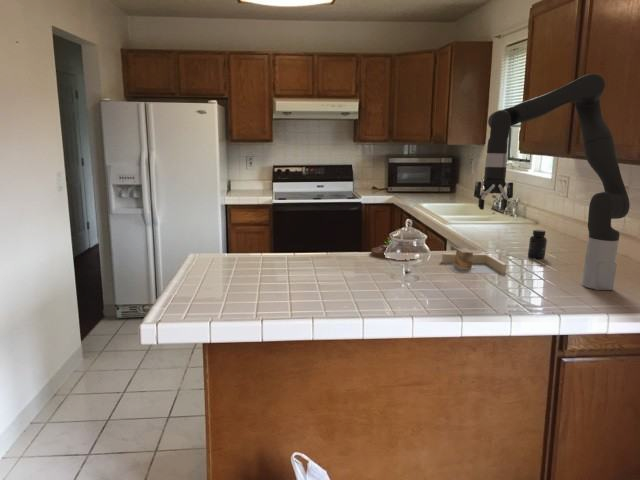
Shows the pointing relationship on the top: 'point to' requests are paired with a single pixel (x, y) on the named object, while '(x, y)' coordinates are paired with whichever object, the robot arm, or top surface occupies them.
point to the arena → (476, 264)
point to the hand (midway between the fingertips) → (492, 209)
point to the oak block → (464, 258)
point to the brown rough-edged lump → (380, 249)
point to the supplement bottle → (537, 245)
